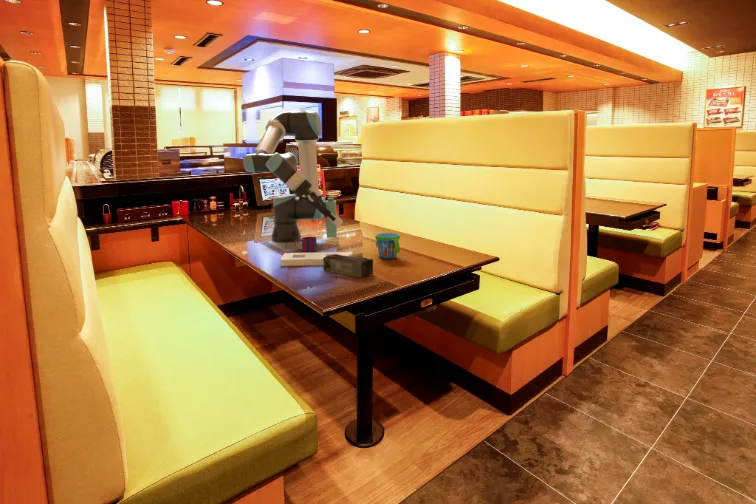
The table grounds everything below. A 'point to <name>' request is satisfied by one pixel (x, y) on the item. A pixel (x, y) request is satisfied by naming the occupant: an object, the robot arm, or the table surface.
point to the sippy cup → (388, 245)
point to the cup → (308, 244)
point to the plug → (330, 225)
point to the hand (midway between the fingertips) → (340, 224)
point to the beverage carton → (348, 265)
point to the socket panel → (306, 258)
